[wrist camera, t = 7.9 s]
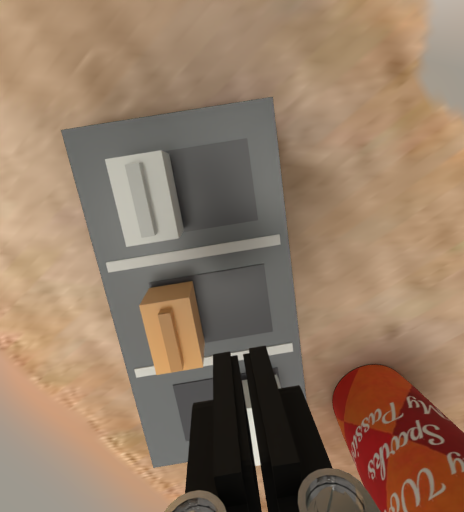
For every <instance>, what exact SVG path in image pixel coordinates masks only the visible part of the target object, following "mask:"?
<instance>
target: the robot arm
mask: <svg viewBox="0 0 464 512" xmlns="http://www.w3.org/2000/svg"><path fill="white" fill-rule="evenodd" d="M243 358H244V364H245V370H246V376H247V383H248V389H249V395H250V401H251V408H252V414H253V420H254V426H255V433H256V439H257V445H258V451H259V458H260V464H261V470H262V476H263V482H264V489H265V495H266V501H267V507H268V512H381V511H380V510H379V508H378V507H377V505H376V503H375V502H374V500H373V499H372V497H371V495H370V494H369V492H368V491H367V490H366V488H365V487H364V486H363V485H362V484H361V482H360V481H359V480H357V479H356V478H355V477H353V476H352V475H351V474H349V473H346V472H344V471H341V470H339V469H333V468H332V466H331V463H330V461H329V458H328V455H327V453H326V450H325V448H324V445H323V443H322V440H321V438H320V435H319V432H318V430H317V427H316V425H315V422H314V420H313V417H312V415H311V412H310V409H309V407H308V404H307V402H306V399H305V397H304V394H303V392H302V389H301V387H300V386H299V385H297V386H291V387H285V388H279V389H278V386H277V382H276V379H275V375H274V372H273V368H272V365H271V362H270V358H269V355H268V351H267V348H266V346H259V347H253V348H249V353H246V354H243ZM165 512H262V511H261V504H260V497H259V490H258V482H257V475H256V468H255V461H254V454H253V447H252V440H251V433H250V427H249V420H248V414H247V408H246V403H245V397H244V391H243V385H242V379H241V373H240V367H239V361H238V355H234V356H231V353H230V351H229V352H223V353H217V354H213V400H208V401H202V402H196V403H193V405H192V414H191V427H190V439H189V452H188V464H187V477H186V490H185V494H184V495H182V496H180V497H178V498H177V499H176V500H175V501H173V502H172V503H171V504H170V505H169V506H168V508H167V509H166V511H165Z"/></svg>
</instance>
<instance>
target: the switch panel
mask: <svg viewBox="0 0 464 512" xmlns="http://www.w3.org/2000/svg"><path fill="white" fill-rule="evenodd" d="M61 132H62V136H63V139H64V143H65V147H66V150H67V154H68V158H69V161H70V165H71V169H72V172H73V176H74V179H75V183H76V187H77V190H78V194H79V198H80V201H81V205H82V209H83V212H84V216H85V220H86V223H87V227H88V231H89V234H90V238H91V241H92V245H93V249H94V252H95V256H96V260H97V263H98V267H99V271H100V274H101V278H102V282H103V285H104V289H105V293H106V296H107V300H108V303H109V307H110V311H111V314H112V318H113V322H114V325H115V329H116V333H117V336H118V340H119V344H120V347H121V351H122V355H123V358H124V362H125V365H126V369H127V373H128V376H129V380H130V384H131V387H132V391H133V395H134V398H135V402H136V406H137V409H138V413H139V417H140V420H141V424H142V428H143V431H144V435H145V438H146V442H147V446H148V449H149V453H150V457H151V460H152V464H153V468H155V467H161V466H167V465H173V464H179V463H184V462H188V452H189V439H190V427H191V414H192V405H193V403H196V402H202V401H208V400H213V354H217V353H223V352H229V351H230V353H231V356H234V355H238V361H239V367H240V373H241V379H242V380H247V376H246V370H245V364H244V358H243V354H246V353H249V348H253V347H259V346H266V348H267V351H268V355H269V358H270V362H271V365H272V368H273V372H274V375H277V376H278V379H279V382H280V386H281V388H285V387H291V386H297V385H299V386H300V387H301V389H302V392H303V394H304V397H305V399H306V393H305V384H304V375H303V366H302V357H301V348H300V339H299V330H298V321H297V312H296V303H295V294H294V285H293V276H292V267H291V258H290V249H289V240H288V231H287V222H286V213H285V204H284V195H283V186H282V177H281V168H280V159H279V149H278V140H277V131H276V122H275V113H274V104H273V97H268V98H262V99H256V100H249V101H243V102H237V103H230V104H224V105H218V106H211V107H205V108H198V109H192V110H186V111H179V112H173V113H167V114H160V115H154V116H147V117H141V118H135V119H128V120H122V121H116V122H109V123H103V124H97V125H90V126H84V127H77V128H71V129H65V130H61ZM159 150H162V151H164V152H166V153H168V154H169V156H170V161H171V166H172V171H173V176H174V181H175V187H176V192H177V197H178V202H179V207H180V212H181V217H182V222H183V227H184V230H183V232H182V234H181V236H180V237H179V238H178V239H172V240H166V241H160V242H154V243H148V244H141V245H135V246H129V247H126V243H125V239H124V235H123V231H122V227H121V223H120V219H119V215H118V211H117V207H116V203H115V199H114V195H113V191H112V187H111V183H110V178H109V174H108V170H107V166H106V162H105V159H109V158H115V157H122V156H128V155H134V154H141V153H147V152H153V151H159ZM190 281H193V286H194V291H195V296H196V301H197V306H198V311H199V316H200V321H201V326H202V332H203V337H204V342H205V347H204V364H203V367H202V368H196V369H190V370H184V371H178V372H172V373H166V374H160V375H156V372H155V368H154V364H153V359H152V355H151V351H150V347H149V343H148V339H147V335H146V331H145V327H144V323H143V319H142V315H141V311H140V307H139V305H140V303H141V302H142V300H143V298H144V296H145V295H146V293H147V291H148V289H149V288H153V287H159V286H165V285H171V284H177V283H183V282H190Z"/></svg>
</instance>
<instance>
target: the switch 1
mask: <svg viewBox="0 0 464 512" xmlns="http://www.w3.org/2000/svg"><path fill="white" fill-rule="evenodd" d="M105 162H106V166H107V170H108V174H109V178H110V183H111V187H112V191H113V195H114V199H115V203H116V207H117V211H118V215H119V219H120V223H121V227H122V231H123V235H124V239H125V243H126V247H129V246H135V245H141V244H148V243H154V242H160V241H166V240H172V239H178V238H179V237H180V236H181V234H182V232H183V230H184V227H183V222H182V217H181V212H180V207H179V202H178V197H177V192H176V187H175V181H174V176H173V171H172V166H171V161H170V156H169V154H168V153H166V152H164V151H162V150H159V151H153V152H147V153H141V154H134V155H128V156H122V157H115V158H109V159H105Z"/></svg>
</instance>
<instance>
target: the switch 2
mask: <svg viewBox="0 0 464 512" xmlns="http://www.w3.org/2000/svg"><path fill="white" fill-rule="evenodd" d="M139 307H140V311H141V315H142V319H143V323H144V327H145V331H146V335H147V339H148V343H149V347H150V351H151V355H152V359H153V364H154V368H155V372H156V375H160V374H166V373H172V372H178V371H184V370H190V369H196V368H202V367H203V364H204V347H205V342H204V337H203V332H202V326H201V321H200V316H199V311H198V306H197V301H196V296H195V291H194V286H193V281H190V282H183V283H177V284H171V285H165V286H159V287H153V288H149V289H148V291H147V293H146V295H145V296H144V298H143V300H142V302H141V303H140V305H139Z"/></svg>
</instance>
